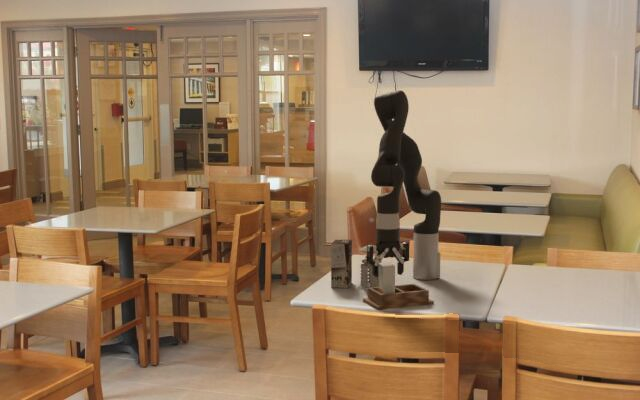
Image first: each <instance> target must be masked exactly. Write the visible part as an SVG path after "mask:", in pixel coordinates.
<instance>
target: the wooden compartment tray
mask: <svg viewBox="0 0 640 400" xmlns="http://www.w3.org/2000/svg"><path fill="white" fill-rule="evenodd" d="M362 302H364V303H365V304H367V305H368V306H370V307H372V308H373V309H375V310H377V311H380V310H381V311H382V310H391V309H398V308H399V309H401V308H410V307H422V306H428V305H429V306H430V305H434V304H435V301H434V300H432V299H430V290H429V289H427V288H425V287H422V286H420V285H418V284H416V283H409V284H397V285H396V284H395V293H390V294H382V293H380V292H379V287H373V288H368V291H367V297H363V298H362Z"/></svg>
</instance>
